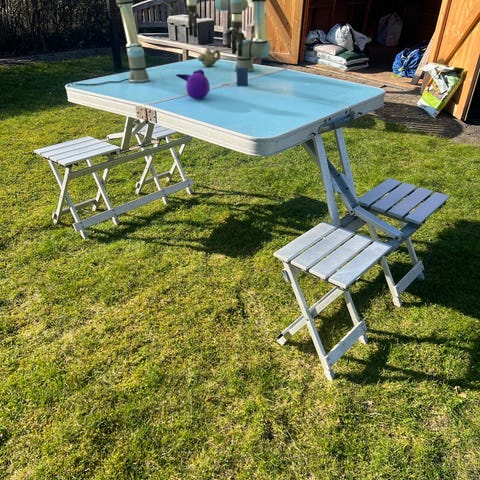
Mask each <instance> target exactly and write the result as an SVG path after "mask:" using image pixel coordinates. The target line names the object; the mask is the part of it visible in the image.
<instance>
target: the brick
mask: <svg viewBox="0 0 480 480" xmlns="http://www.w3.org/2000/svg"><path fill="white" fill-rule="evenodd" d="M236 86H237V87H248V86H249V72H248V68H247V67H237V71H236Z"/></svg>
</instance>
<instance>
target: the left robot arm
mask: <svg viewBox="0 0 480 480" xmlns="http://www.w3.org/2000/svg"><path fill="white" fill-rule="evenodd" d="M115 2H116V6H117V7H118V8H119V10H120V16H121V20H122V24H123V29H124V34H125V39H126V45H125V48H126V52H127V57H128V66H129V76H128V78H124V79H122V80H108V81H104V82H99V83H76V82H71V83H70V84H72V85H75V86H76V85H77V86H98V85H99V86H100V85H103V84H108V83H109V84H110V83H122V82H125V81H128V82H129V83H133V84H141V83H148V82H150V76H149V74H148V71H147V67H146V59H145V50H144V48H143V46H142V43H141V42H140V40H139V37H138V31H137V25H136V22H135V16H134V11H133V7H132V6H133V4H134V0H115ZM197 2H198V0H186V3H185V4H186V11H187V14H188V16H187V17H188V18H187V25H188V32H189V33H188V35H189V36H192V37H193V38H198V27H199V25H198V20H197V13H196V12H197V11H198V6H197ZM73 83H75V84H73ZM70 86H71V85H69V84H67V87H70Z"/></svg>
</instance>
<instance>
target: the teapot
mask: <svg viewBox="0 0 480 480" xmlns="http://www.w3.org/2000/svg"><path fill="white" fill-rule="evenodd" d="M204 52H205V53H200V54H199V55H198V56H197V60H198V61H199V62H201V64H202V65H203V66H204V67H206V68H208V67H210V68H211V67H213V66H214V65H215V64H216V62H218V61H219V60H220V59H221V51H220V50H219V49H218V48H217V49H214V50H213V51H212V50H211V49H210V47H206V50H205V51H204ZM215 55H216V56H215Z"/></svg>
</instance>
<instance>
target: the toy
mask: <svg viewBox="0 0 480 480" xmlns="http://www.w3.org/2000/svg"><path fill="white" fill-rule="evenodd" d="M175 76H176V77H177V78H179V79H182V80H183V81H185V82H186V84H185V89H186V93H187V95H188V96H189V97H190V98H191V99H194V100H203V99H205V98H206V96H208V94H209V92H210V89H211V86H210V85H211V84H210V81H209V79H208V78H207V76H206V75H205V71H204V70H203V69H197V70H194V71H193V72H192V74H181V73H179V74H175Z"/></svg>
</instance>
